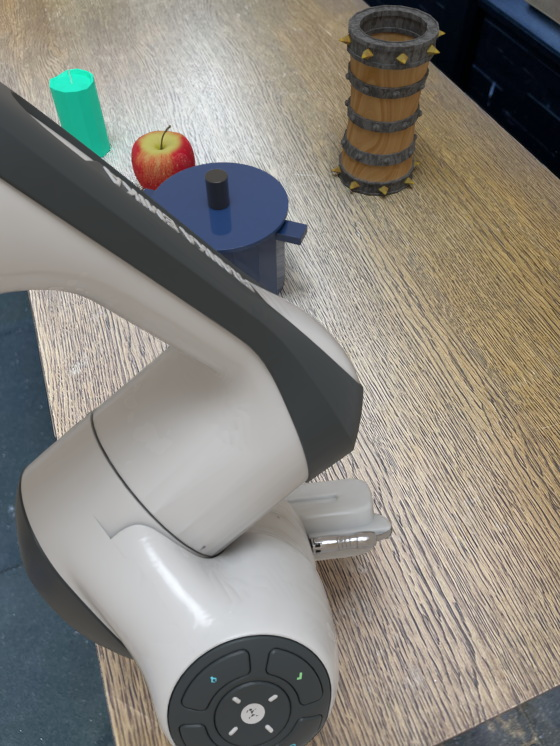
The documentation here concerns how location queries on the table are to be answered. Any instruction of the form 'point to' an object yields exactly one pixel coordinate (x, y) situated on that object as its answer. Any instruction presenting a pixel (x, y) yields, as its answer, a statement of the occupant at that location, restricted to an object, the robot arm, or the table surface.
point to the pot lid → (226, 204)
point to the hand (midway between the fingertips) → (239, 492)
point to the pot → (266, 255)
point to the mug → (384, 96)
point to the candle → (80, 109)
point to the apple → (160, 157)
